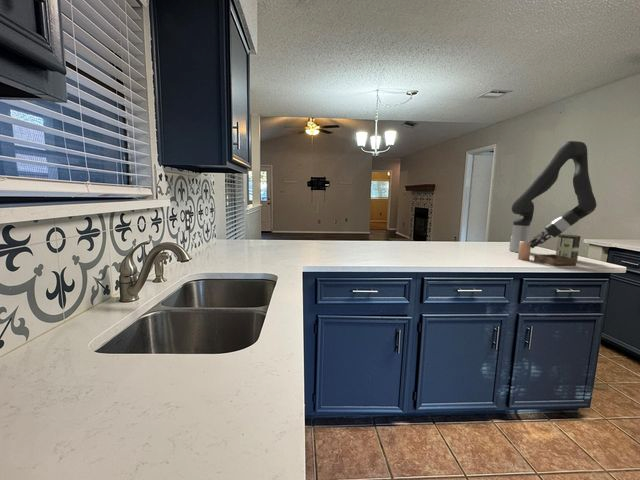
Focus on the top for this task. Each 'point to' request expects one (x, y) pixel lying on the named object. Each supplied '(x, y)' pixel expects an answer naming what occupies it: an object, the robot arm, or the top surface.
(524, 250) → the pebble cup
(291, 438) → the top surface
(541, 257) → the walnut tray
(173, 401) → the top surface
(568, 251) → the coffee can
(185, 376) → the top surface
